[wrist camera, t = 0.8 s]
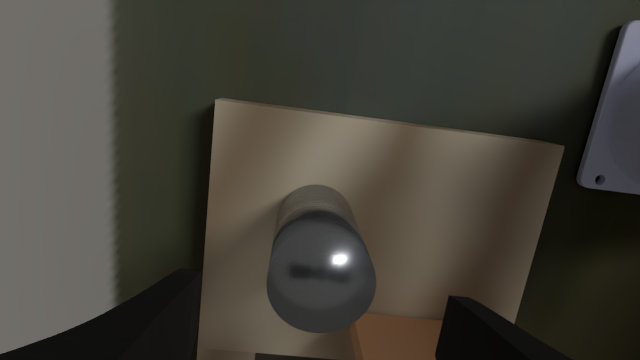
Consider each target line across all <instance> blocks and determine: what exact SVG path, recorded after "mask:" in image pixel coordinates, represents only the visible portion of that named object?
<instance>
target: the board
mask: <svg viewBox="0 0 640 360" xmlns="http://www.w3.org/2000/svg"><path fill="white" fill-rule="evenodd" d="M564 148H565V146H562V145H558V144H554V143H550V142H546V141H541V140H533V139H526V138H518V137H511V136H503V135H496V134H488V133H481V132H473V131H466V130H458V129H451V128H443V127H436V126H429V125H421V124H414V123H406V122H399V121H391V120H384V119H376V118H369V117H361V116H354V115H346V114H339V113H331V112H324V111H316V110H309V109H301V108H294V107H286V106H279V105H272V104H264V103H257V102H249V101H242V100H234V99H227V98H220V99H216V100H215V111H214V125H213V139H212V153H211V167H210V181H209V195H208V209H207V223H206V237H205V251H204V265H203V279H202V293H201V306H200V320H199V334H198V348H197V360H356V358H355V353H354V348H353V343H352V338H351V333H350V326H348V327H346V328H343V329H341V330H338V331H335V332H330V333H310V332H305V331H302V330H299V329H297V328H294V327H292V326H291V325H289V324H287V323H286V322H285V321H283V320H282V319H281V318H280V317H279V316H278V315H277V313H276V312H275V311H274V309H273V307H272V306H271V304H270V301H269V299H268V295H267V288H266V281H267V274H268V268H269V262H270V256H271V250H272V243H273V237H274V231H275V225H276V219H277V214H278V210H279V207H280V205H281V203H282V202H283V200H284V199H285V198H286V197H287V196H288V195H289V194H290V193H291V192H293V191H294V190H296V189H298V188H300V187H303V186H306V185H314V184H317V185H325V186H328V187H331V188H333V189H335V190H336V191H338V192H339V193H341V194H342V195H343V196H344V197H345V199H346V200H347V201H348V203H349V205H350V207H351V209H352V212H353V215H354V217H355V220H356V222H357V225H358V227H359V230H360V233H361V235H362V238H363V240H364V243H365V245H366V248H367V250H368V253H369V256H370V258H371V261H372V263H373V266H374V269H375V273H376V291H375V295H374V298H373V301H372V303H371V305H370V306H369V308H368V309H367V311H366V312H365V313H369V314H379V315H390V316H401V317H411V318H422V319H433V320H443V318H444V313H445V309H446V305H447V301H448V296H449V295H452V296H462V297H469V298H472V299H474V300H476V301H477V302H479V303H481V304H483V305H484V306H486V307H488V308H489V309H491V310H493V311H494V312H496V313H497V314H499V315H500V316H502V317H504V318H505V319H507V320H508V321H510V322H511V323H513V324H514V323H515V320H516V316H517V313H518V309H519V306H520V302H521V299H522V295H523V292H524V288H525V285H526V281H527V278H528V274H529V271H530V267H531V264H532V260H533V257H534V253H535V250H536V246H537V243H538V239H539V236H540V232H541V229H542V225H543V222H544V218H545V215H546V211H547V208H548V204H549V201H550V197H551V194H552V190H553V187H554V183H555V180H556V176H557V173H558V169H559V166H560V162H561V159H562V155H563V152H564Z"/></svg>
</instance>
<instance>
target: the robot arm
mask: <svg viewBox="0 0 640 360" xmlns="http://www.w3.org/2000/svg"><path fill="white" fill-rule="evenodd" d="M597 176H600V179H599V180H598V181H597V182H596V183H595V179H596V177H597ZM576 180H577V183H578V184H579V185H580V186H583V187H586V188H591V189H599V190H607V191H615V192H623V193H631V194H639V195H640V21H630V22H628V23H625V24H624V25H623V26H622V28H621V30H620V33H619V36H618V40H617V43H616V46H615V50H614V53H613V56H612V60H611V63H610V66H609V70H608V73H607V76H606V80H605V83H604V87H603V90H602V93H601V97H600V100H599V103H598V107H597V110H596V113H595V117H594V120H593V123H592V127H591V130H590V133H589V137H588V140H587V144H586V147H585V150H584V154H583V157H582V160H581V164H580V167H579V170H578V174H577V179H576ZM201 275H202V271H198V270H188V269H178V270H177V271H175V272H173V273H171V274H170V275H168V276H167V277H165V278H164V279H162V280H160V281H159V282H157V283H156V284H154V285H152V286H151V287H149V288H148V289H146V290H144V291H143V292H141V293H139V294H138V295H136V296H135V297H133V298H131V299H129V300H127V301H126V302H124V303H122V304H120V305H118V306H116V307H115V308H113V309H111V310H109V311H107V312H105V313H104V314H102V315H100V316H98V317H96V318H94V319H92V320H89V321H87V322H85V323H83V324H81V325H79V326H76V327H74V328H71V329H69V330H67V331H64V332H62V333H59V334H57V335H54V336H52V337H49V338H46V339H43V340H40V341H38V342H35V343H32V344H29V345H26V346H24V347H21V348H18V349H15V350H12V351H9V352H6V353H3V354H0V360H190V357H191V354H192V351H193V347H194V344H195V341H196V337H197V331H198V317H199V303H200V289H201ZM435 358H436V360H572V359H571V358H569V357H567V356H565V355H564V354H562V353H560V352H559V351H557V350H555V349H553V348H552V347H550V346H548V345H547V344H545V343H543V342H542V341H540V340H538V339H537V338H535V337H533V336H532V335H530V334H529V333H527V332H526V331H524V330H522V329H521V328H519V327H518V326H516V325H515V324H513V323H511V322H510V321H508V320H507V319H505V318H504V317H502V316H500V315H499V314H497V313H496V312H494V311H493V310H491V309H489V308H488V307H486V306H484V305H483V304H481V303H479V302H477V301H476V300H474V299H472V298H469V297H462V296H452V295H449V296H448V301H447V305H446V309H445V313H444V318H443V322H442V326H441V330H440V335H439V339H438V343H437V347H436V351H435Z"/></svg>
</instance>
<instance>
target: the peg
mask: <svg viewBox="0 0 640 360" xmlns="http://www.w3.org/2000/svg"><path fill="white" fill-rule="evenodd" d="M266 288H267V295H268V299H269V301H270V304H271V306H272V307H273V309H274V311H275V312H276V313H277V315H278V316H279V317H280V318H281V319H282V320H283V321H285V322H286V323H287V324H289V325H291V326H292V327H294V328H297V329H299V330H302V331H305V332H310V333H330V332H335V331H338V330H341V329H343V328H346V327H348V326H350V325H351V324H353V323H354V322H356V321H357V320H358V319H359V318H360V317H361V316H362V315H363V314H364V313H365V312H366V311H367V309H368V308H369V306H370V305H371V303H372V301H373V298H374V295H375V291H376V273H375V269H374V266H373V263H372V261H371V258H370V256H369V253H368V250H367V248H366V245H365V243H364V240H363V238H362V235H361V233H360V230H359V227H358V225H357V222H356V220H355V217H354V215H353V212H352V209H351V207H350V205H349V203H348V201H347V200H346V199H345V197H344V196H343V195H342V194H341V193H339V192H338V191H336V190H335V189H333V188H331V187H328V186H325V185H317V184H314V185H306V186H303V187H300V188H298V189H296V190H294V191H293V192H291V193H290V194H289V195H288V196H287V197H286V198H285V199H284V200H283V202H282V203H281V205H280V207H279V210H278V214H277V219H276V225H275V231H274V237H273V243H272V250H271V256H270V262H269V268H268V274H267V281H266Z"/></svg>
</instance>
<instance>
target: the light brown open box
mask: <svg viewBox="0 0 640 360" xmlns="http://www.w3.org/2000/svg"><path fill="white" fill-rule="evenodd" d="M442 322H443V320H433V319H422V318H411V317H401V316H390V315H379V314H369V313H364V314H363V315H362V316H361V317H360V318H359V319H358V320H357V321H356V322H354V323H353V324H351V325H350V333H351V338H352V343H353V348H354V353H355V358H356V360H436V358H435V351H436V347H437V343H438V339H439V335H440V330H441V326H442Z"/></svg>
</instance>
